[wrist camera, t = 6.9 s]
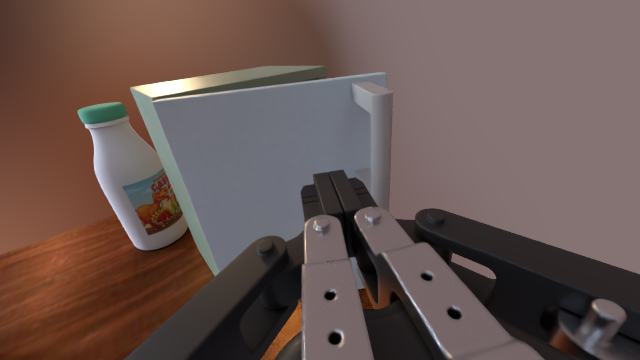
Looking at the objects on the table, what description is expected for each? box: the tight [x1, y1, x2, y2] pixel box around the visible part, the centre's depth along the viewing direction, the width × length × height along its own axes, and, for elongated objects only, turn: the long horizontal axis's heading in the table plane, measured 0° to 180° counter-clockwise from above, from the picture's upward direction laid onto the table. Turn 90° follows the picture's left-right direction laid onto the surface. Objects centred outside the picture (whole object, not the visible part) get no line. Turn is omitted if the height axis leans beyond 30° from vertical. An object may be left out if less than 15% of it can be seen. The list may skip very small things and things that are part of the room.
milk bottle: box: [78, 102, 188, 250], centre depth 36 cm, size 8×8×20 cm
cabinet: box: [130, 66, 326, 276], centre depth 32 cm, size 12×16×22 cm
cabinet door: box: [152, 72, 393, 301], centre depth 21 cm, size 6×16×22 cm, turn 98°
